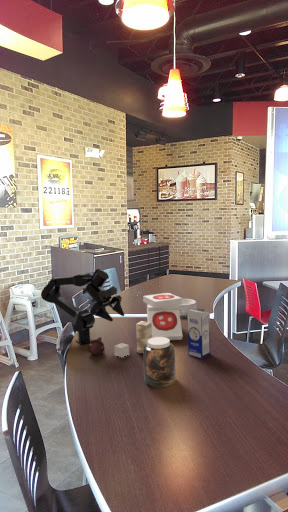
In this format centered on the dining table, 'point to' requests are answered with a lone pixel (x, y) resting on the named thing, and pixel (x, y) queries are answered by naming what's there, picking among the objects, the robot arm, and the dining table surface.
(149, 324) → the birch block
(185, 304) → the paper bowls
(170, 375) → the jar
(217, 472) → the dining table surface
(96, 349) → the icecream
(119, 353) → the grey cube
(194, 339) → the milk carton
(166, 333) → the pizza boxes
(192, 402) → the dining table surface
